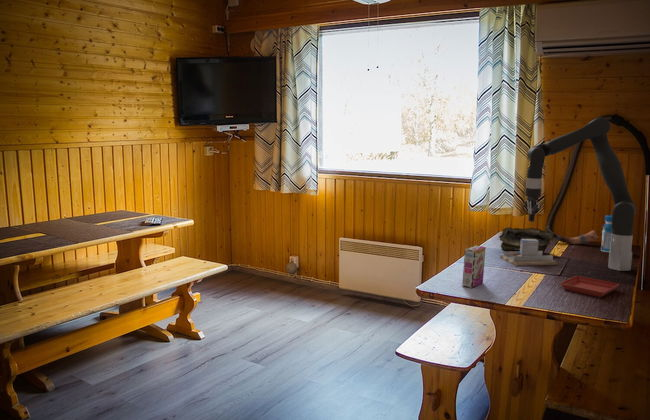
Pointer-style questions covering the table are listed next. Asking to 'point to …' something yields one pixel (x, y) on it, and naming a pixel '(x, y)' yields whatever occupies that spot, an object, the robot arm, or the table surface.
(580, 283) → the plant saucer
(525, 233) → the hollow geode rock
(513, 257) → the rail
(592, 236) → the drinking horn
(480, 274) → the candy bar box
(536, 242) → the medicine box
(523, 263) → the rail board
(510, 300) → the table surface
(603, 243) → the beverage bottle
